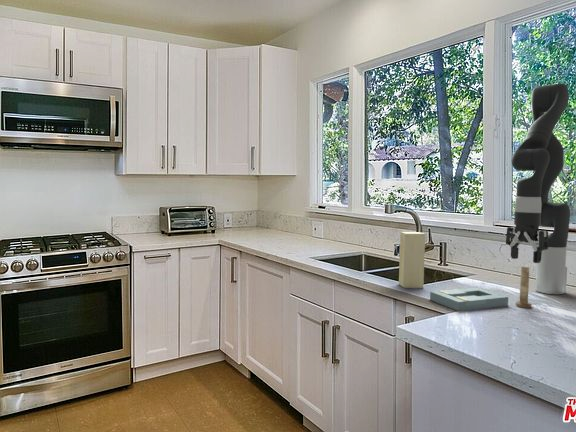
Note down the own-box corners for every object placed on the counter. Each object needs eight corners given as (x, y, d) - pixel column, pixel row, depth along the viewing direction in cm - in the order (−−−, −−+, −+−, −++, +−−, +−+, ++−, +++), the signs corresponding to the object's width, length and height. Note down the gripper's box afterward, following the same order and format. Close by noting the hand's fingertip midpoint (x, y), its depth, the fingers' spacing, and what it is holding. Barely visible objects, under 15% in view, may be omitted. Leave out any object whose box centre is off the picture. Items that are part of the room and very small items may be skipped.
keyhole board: (476, 295, 157) (477, 286, 157) (507, 305, 144) (508, 296, 144) (430, 299, 151) (430, 291, 151) (458, 311, 138) (458, 301, 137)
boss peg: (523, 303, 147) (524, 265, 146) (534, 307, 142) (536, 267, 141) (512, 304, 145) (514, 266, 144) (524, 308, 141) (525, 268, 140)
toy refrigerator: (417, 283, 175) (419, 231, 174) (424, 288, 168) (425, 233, 166) (398, 283, 175) (399, 231, 174) (403, 288, 168) (404, 233, 166)
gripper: (556, 212, 136) (553, 263, 137) (518, 209, 149) (516, 256, 150) (537, 212, 133) (535, 264, 135) (501, 209, 147) (499, 257, 148)
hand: (525, 260), depth 142 cm, fingers open, 8 cm apart
